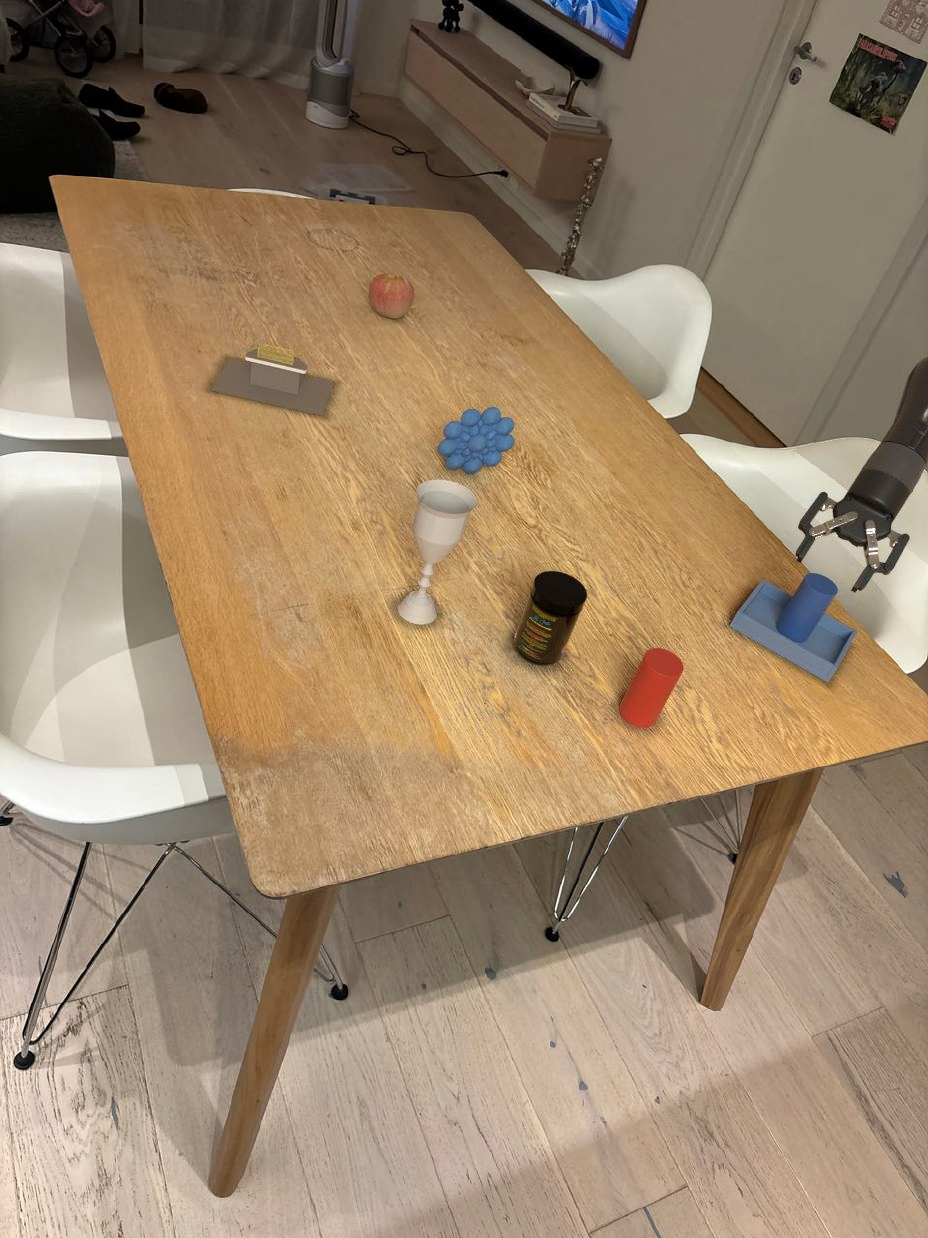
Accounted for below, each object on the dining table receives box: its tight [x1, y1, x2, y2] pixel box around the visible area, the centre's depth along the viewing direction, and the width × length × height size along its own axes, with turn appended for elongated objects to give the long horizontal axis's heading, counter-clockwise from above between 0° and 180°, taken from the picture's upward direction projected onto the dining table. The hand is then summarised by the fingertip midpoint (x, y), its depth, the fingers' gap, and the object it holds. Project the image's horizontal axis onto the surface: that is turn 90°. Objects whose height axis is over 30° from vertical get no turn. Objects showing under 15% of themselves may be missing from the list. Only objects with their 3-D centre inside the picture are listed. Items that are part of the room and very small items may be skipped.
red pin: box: [618, 647, 685, 729], centre depth 110 cm, size 5×5×9 cm
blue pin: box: [776, 572, 839, 643], centre depth 129 cm, size 5×5×9 cm
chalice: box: [397, 479, 478, 625], centre depth 112 cm, size 7×7×18 cm
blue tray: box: [729, 578, 858, 684], centre depth 132 cm, size 15×11×3 cm
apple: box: [368, 272, 415, 320], centre depth 181 cm, size 9×9×8 cm
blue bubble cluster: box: [437, 406, 515, 475], centre depth 143 cm, size 12×7×12 cm, turn 96°
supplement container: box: [512, 570, 588, 667], centre depth 114 cm, size 7×7×10 cm
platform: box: [210, 343, 335, 417], centre depth 150 cm, size 12×18×7 cm, turn 87°
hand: (826, 575), depth 132 cm, fingers open, 8 cm apart
